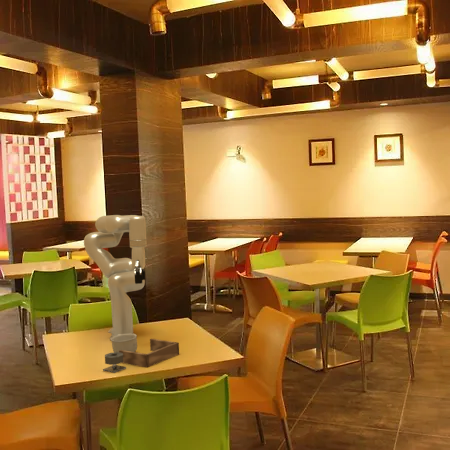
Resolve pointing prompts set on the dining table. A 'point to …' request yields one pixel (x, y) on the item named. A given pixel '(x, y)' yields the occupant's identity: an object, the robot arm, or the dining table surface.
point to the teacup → (124, 342)
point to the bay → (152, 353)
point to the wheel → (113, 358)
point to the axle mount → (114, 368)
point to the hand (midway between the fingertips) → (140, 281)
